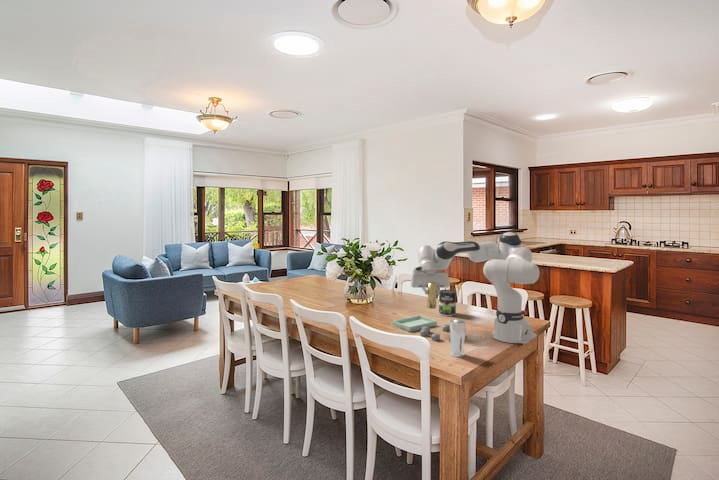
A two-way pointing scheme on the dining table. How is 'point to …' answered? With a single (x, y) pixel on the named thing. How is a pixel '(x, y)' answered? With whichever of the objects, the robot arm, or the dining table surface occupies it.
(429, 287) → the gold metal cylinder
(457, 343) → the beer glass
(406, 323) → the tray
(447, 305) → the coffee can
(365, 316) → the dining table surface
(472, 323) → the dining table surface
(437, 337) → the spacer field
